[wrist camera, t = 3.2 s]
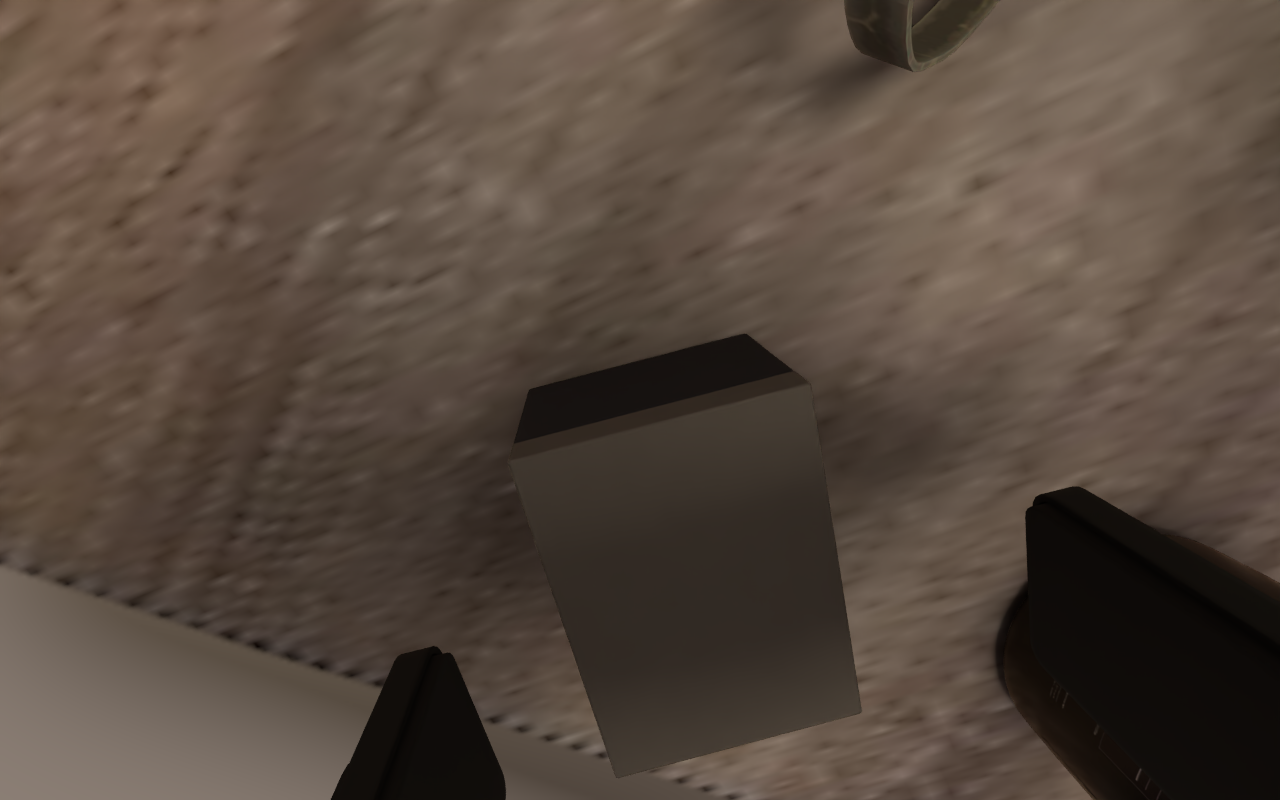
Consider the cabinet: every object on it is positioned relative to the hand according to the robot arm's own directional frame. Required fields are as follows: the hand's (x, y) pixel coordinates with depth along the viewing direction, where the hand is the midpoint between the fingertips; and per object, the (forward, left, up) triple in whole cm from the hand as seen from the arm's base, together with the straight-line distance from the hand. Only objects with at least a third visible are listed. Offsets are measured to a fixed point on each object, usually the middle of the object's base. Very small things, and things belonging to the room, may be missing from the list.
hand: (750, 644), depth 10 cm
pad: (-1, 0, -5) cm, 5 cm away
